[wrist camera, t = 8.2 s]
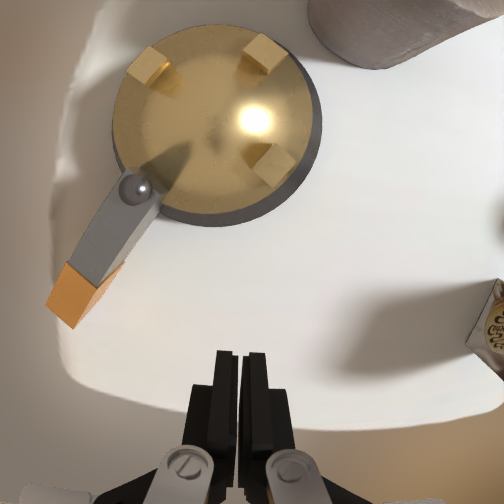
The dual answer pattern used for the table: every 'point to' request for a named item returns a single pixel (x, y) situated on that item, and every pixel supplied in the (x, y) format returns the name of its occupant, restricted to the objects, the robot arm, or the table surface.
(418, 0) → the pillar candle
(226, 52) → the gold disc lever
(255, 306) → the table surface
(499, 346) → the coffee box
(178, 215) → the base plate
